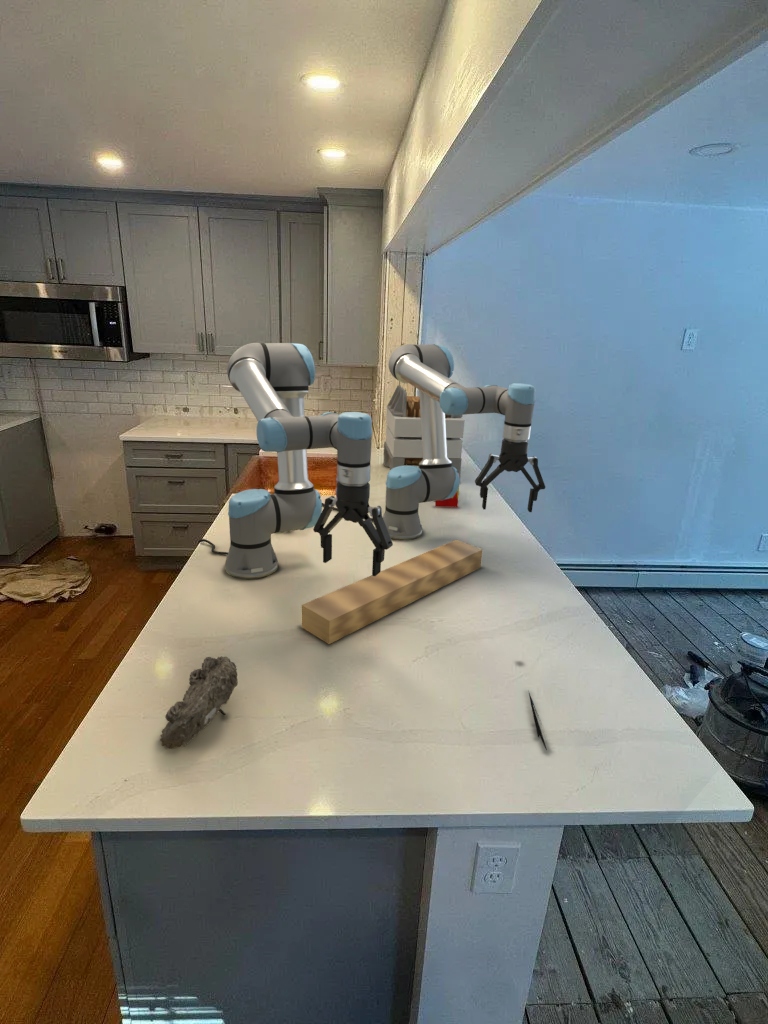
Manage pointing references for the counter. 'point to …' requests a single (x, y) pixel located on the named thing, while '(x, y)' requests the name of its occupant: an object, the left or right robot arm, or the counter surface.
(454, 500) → the toy
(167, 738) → the fossil
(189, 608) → the counter surface
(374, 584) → the thick board
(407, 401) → the transformer
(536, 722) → the feather
